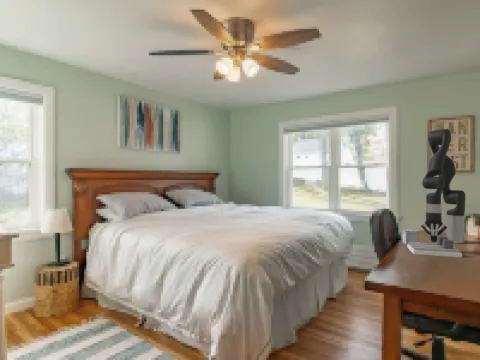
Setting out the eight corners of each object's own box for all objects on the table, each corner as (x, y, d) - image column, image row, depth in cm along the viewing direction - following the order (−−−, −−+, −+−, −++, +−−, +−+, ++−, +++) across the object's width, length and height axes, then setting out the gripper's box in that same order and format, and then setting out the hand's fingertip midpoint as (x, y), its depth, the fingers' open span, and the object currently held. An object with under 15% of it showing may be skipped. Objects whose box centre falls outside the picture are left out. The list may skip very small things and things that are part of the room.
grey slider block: (442, 249, 157) (442, 239, 157) (451, 250, 155) (451, 239, 155) (444, 250, 154) (444, 240, 154) (453, 251, 153) (453, 240, 153)
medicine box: (415, 243, 182) (415, 229, 182) (419, 244, 178) (419, 230, 178) (402, 242, 183) (402, 229, 183) (405, 244, 179) (405, 230, 179)
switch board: (407, 247, 172) (407, 241, 172) (450, 250, 164) (450, 244, 164) (413, 254, 157) (413, 247, 157) (462, 257, 149) (461, 250, 149)
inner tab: (437, 246, 164) (437, 236, 164) (446, 246, 163) (446, 236, 163) (439, 247, 162) (439, 237, 161) (447, 247, 160) (447, 237, 160)
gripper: (445, 211, 165) (445, 241, 165) (418, 210, 169) (418, 239, 170) (449, 212, 158) (449, 244, 158) (421, 212, 162) (422, 242, 163)
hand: (433, 241), depth 164 cm, fingers closed
